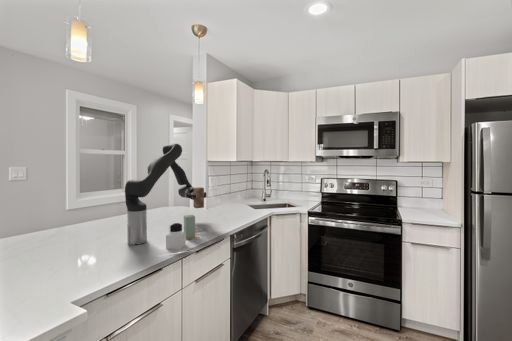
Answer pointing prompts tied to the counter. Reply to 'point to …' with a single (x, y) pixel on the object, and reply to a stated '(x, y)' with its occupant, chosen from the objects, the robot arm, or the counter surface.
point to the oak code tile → (193, 238)
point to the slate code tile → (200, 229)
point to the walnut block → (199, 197)
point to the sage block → (189, 226)
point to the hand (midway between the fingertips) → (200, 196)
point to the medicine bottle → (175, 237)
